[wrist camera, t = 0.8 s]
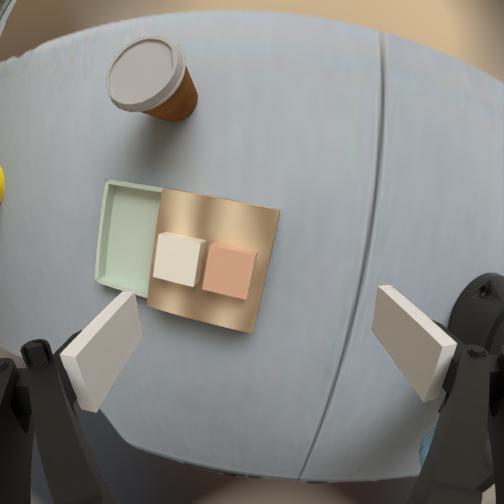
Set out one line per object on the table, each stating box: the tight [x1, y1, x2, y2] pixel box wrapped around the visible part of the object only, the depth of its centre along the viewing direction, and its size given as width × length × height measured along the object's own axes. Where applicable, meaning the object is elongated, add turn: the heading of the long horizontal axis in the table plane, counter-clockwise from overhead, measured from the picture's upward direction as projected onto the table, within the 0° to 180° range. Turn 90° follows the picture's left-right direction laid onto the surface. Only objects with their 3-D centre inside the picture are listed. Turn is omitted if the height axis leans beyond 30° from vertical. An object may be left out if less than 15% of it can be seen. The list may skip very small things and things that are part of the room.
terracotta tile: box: [202, 242, 257, 300], centre depth 33 cm, size 5×5×2 cm
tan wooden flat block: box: [147, 188, 280, 334], centre depth 37 cm, size 14×15×5 cm
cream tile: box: [153, 232, 206, 287], centre depth 34 cm, size 5×5×2 cm
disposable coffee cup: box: [106, 36, 198, 121], centre depth 31 cm, size 10×10×12 cm
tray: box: [95, 179, 174, 298], centre depth 39 cm, size 10×15×2 cm, turn 169°
